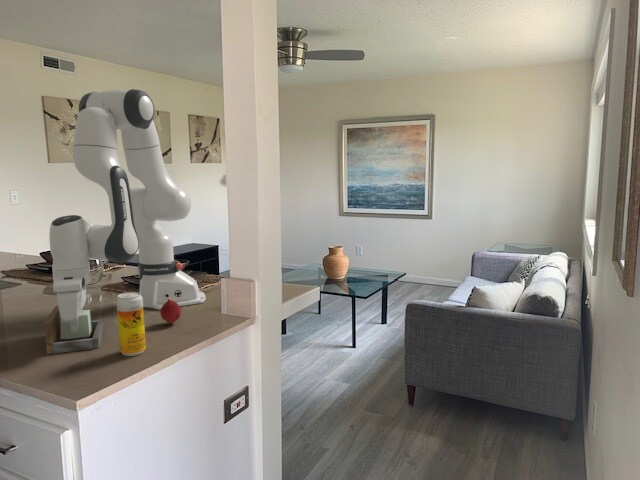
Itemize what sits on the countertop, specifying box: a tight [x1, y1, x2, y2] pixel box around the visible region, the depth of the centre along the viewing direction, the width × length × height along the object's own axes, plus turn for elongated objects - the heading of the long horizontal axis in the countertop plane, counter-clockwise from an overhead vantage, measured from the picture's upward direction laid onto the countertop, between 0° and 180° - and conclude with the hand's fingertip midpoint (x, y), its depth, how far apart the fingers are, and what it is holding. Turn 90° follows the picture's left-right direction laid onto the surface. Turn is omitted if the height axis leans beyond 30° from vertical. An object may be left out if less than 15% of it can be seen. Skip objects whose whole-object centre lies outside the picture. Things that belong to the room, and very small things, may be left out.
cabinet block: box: [60, 309, 93, 340], centre depth 130 cm, size 6×5×8 cm
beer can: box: [115, 291, 147, 357], centre depth 122 cm, size 6×6×15 cm
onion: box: [160, 298, 182, 325], centre depth 143 cm, size 6×6×8 cm
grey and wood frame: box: [43, 305, 105, 355], centre depth 131 cm, size 12×16×8 cm
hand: (76, 327), depth 131 cm, fingers closed on cabinet block, 5 cm apart
